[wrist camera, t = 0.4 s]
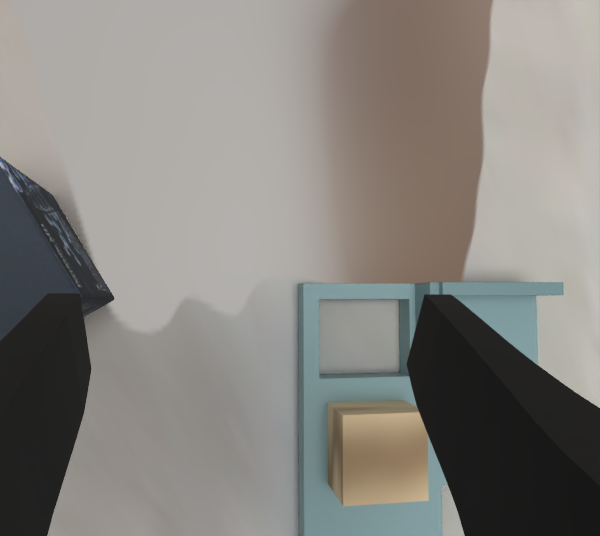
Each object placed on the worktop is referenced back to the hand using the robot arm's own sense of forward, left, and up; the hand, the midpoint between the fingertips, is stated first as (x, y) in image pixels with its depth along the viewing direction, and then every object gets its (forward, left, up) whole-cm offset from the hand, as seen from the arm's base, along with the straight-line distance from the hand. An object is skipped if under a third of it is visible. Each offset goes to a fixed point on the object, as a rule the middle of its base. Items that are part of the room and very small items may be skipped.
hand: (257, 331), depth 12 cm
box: (+3, +11, -26) cm, 28 cm away
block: (-8, -9, -24) cm, 27 cm away
